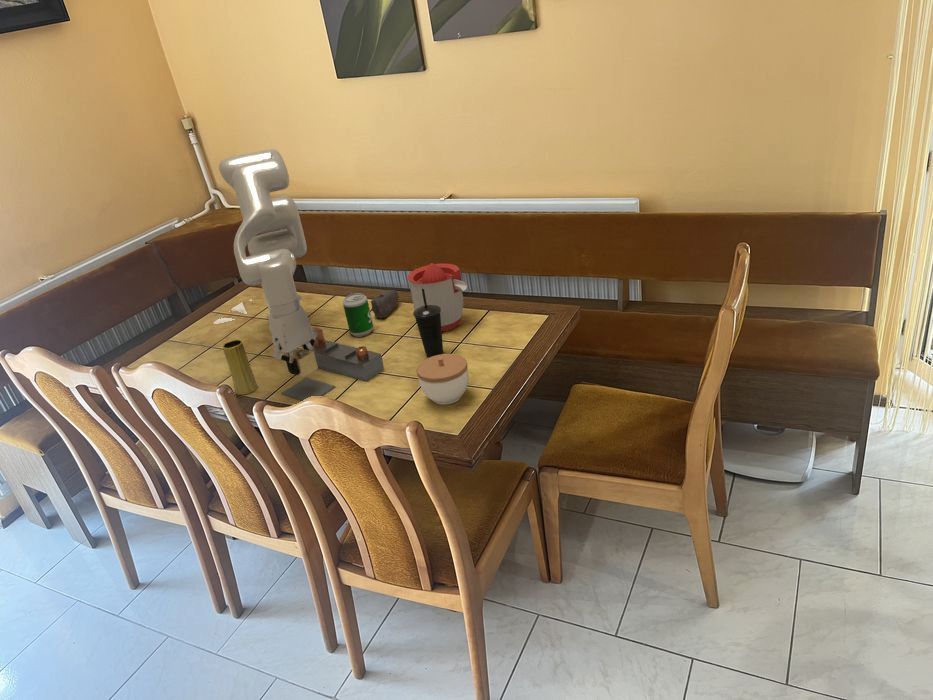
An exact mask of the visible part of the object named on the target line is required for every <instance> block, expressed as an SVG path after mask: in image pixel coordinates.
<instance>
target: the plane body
mask: <svg viewBox="0 0 933 700" xmlns="http://www.w3.org/2000/svg"><path fill="white" fill-rule="evenodd" d="M313 330H314V331H316V332H317V333H318V335H317V337H316V339H315V342H314V345H313V351H314V355H315V359H316V362H317V366H318V369H321V370H324V371H328V372H332V373H335V374H339V375H342V376H346V377H350V378H353V379H357V380H361V381H364V382H368V381H370V380H371V379H373V378H374V377H375V376H377V375H379V374H380V373H382V372H383V371H385V366H384V362H383V357H382V353H380V352H376V351H371V350H368V348H367V346H362V345H361V346H358V347H355V346H351V345H347V344H343V343H340V342H339V343H338V342H334V341H329V340H326V339H325V337H324V333H323V329H321V328H317V327H315V328H314V329H313Z"/></svg>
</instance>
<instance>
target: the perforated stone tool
mask: <svg viewBox="0 0 933 700" xmlns="http://www.w3.org/2000/svg"><path fill="white" fill-rule="evenodd" d="M399 298H400V297H399V293H398V290H395V289H388V290H386V291H383V292H382V293H380V294H378V295H376V296H375V297H374V298H373V299H371V301H370V303H371V311H372V312H373V314H374V317H375V318H378V319H383V318H385V317H387V316H388V315H389V314H390V313H392V311H394V309H395V308H396V306H397V304H398V302H399Z"/></svg>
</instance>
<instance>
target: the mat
mask: <svg viewBox="0 0 933 700" xmlns="http://www.w3.org/2000/svg"><path fill="white" fill-rule="evenodd" d="M334 389H336V385H333V384H329V383H326V382H323V381H321V380H320V381H318V380H316V379H312V378H309V377H305V378H302V379H301V380H299V381H297V382H296V383H295V384H293V385H291V386H290V387H288V388H287V389H285V390H283V391H281V392H280V394H281V395H283V396H287V397H288V398H289V397H290V398H292V399H295V400H298V401H301V402H303V401H302V400H304V399H306V398H308V397H311V396H322V397H323V396H324V395H327V394H328V393H329V392H331V391H332V390H334Z"/></svg>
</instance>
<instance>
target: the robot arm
mask: <svg viewBox="0 0 933 700" xmlns="http://www.w3.org/2000/svg"><path fill="white" fill-rule="evenodd" d="M218 169H219V170H218V171H219V172H220V175H221V177H222V179H223V180H224V181H225V182H226V183H227V184H228V186H230V187H231V188H232V189H233V191H234V192H235V195H236V198H237V203H238V206H239V210H240V214H241V216H242V223H240V226H238V229H237V232H236V233H235V236H234V241H233V254H234V257H235V260H236V266H237V269H238V273H239V276H240V278H241V280H242V281H243V283H244V284H245V285H248V286H257V285H261V287H262V291H263V293H264V297H265V300H266V304H267V308H268V311H269V314H267V316H266V318H267V319H268V322H269V328H268V329H269V332H270V337H271V340H272V345H273V348H274V349H273V353H272V358H275V359H278V360H281V361H283V362H285V361H286V364H287V367H288V371H289V372H288V371H287V372H288V373H289V374H290V375H293V376H300V375H299V372H298V368H297V364H296V361H293V350H295V349H297V348H300V347H301V348H302V349H306V350H310V351H313V345H314V342H315V339H316V337H317V335H318V333H317V332H316V331H314V329H313V328H312V326H311V323H310V320H309V317H308V314H307V312H306V311H305V308H304V307H303V305H301V302H300V301H301V300H302V295H300V294H298V292H297V289H296V283H295V281H294V277H293V276H294V274H295V272H296V270H297V261H296V259H298V258H301V257H303V256H305V255H306V253H307V250H308V247H307V242H306V236H305V234H304V228H303V225H302V221H301V217H300V216H301V215H300V212H299V209H298V206H297V205H296V202H295V201H294V199H293V198H292V197H291V196H287V195H280V196H277V197H276V196H275V197H272V196H271V193H274V192H279V191H284V190H286V189H287V188H288V187H289V185H290V176H289V172H288V168H287V165H286V163H285V160H284V159H283V157H282V154H281V153H280V152H279V151H278V150H277V149H273V148H272V149H265V150H261V151H255V152H250V153H245V154H244V153H243V154H239V155H234V156H230V157H226V158H224V159H222V160H220V162H219V164H218ZM246 248H247V251H248V253H249V255H248V256H247V254H246ZM281 352H282V354H281ZM286 364H285V365H286Z"/></svg>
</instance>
